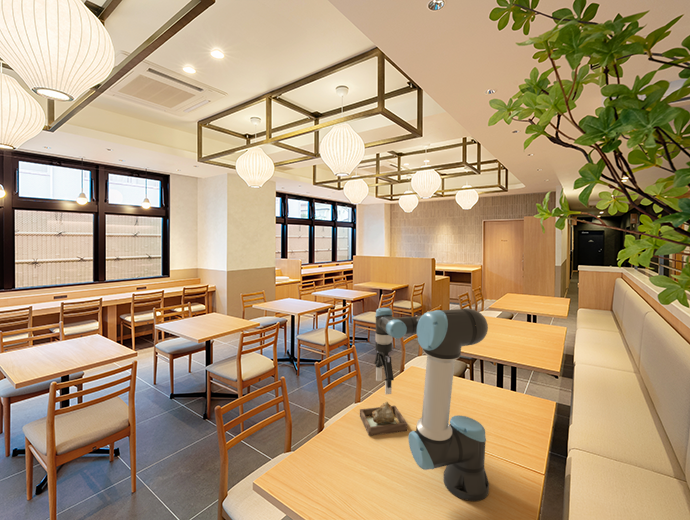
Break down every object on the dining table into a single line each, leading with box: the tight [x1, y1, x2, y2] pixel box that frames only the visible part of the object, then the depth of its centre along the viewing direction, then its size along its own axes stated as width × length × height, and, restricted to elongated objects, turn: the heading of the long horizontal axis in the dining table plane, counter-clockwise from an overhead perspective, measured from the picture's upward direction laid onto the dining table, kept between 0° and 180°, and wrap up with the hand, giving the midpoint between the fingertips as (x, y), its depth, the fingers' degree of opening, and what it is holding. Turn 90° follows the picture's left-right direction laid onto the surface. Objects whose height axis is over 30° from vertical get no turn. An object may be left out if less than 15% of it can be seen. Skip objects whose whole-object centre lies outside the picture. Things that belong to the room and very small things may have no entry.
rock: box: [372, 401, 396, 424], centre depth 155 cm, size 12×10×10 cm
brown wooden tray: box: [359, 405, 409, 437], centre depth 156 cm, size 16×18×4 cm
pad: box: [366, 416, 398, 427], centre depth 156 cm, size 11×13×1 cm
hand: (383, 387), depth 154 cm, fingers open, 13 cm apart
